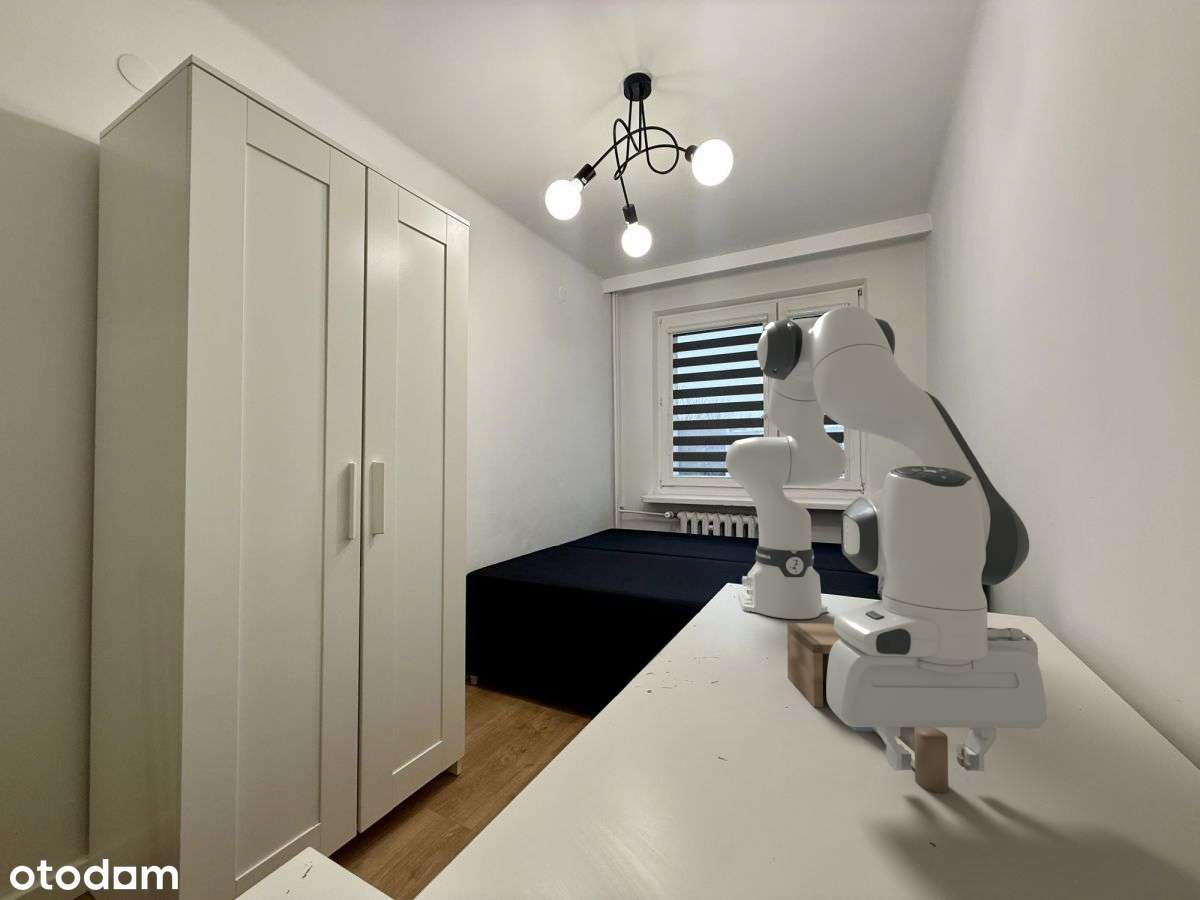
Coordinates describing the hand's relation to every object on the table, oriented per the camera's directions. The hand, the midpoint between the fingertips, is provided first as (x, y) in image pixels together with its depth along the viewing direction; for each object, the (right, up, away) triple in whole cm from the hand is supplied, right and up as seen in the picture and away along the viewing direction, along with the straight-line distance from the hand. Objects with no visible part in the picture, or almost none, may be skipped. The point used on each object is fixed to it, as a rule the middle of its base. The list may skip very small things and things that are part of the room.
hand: (934, 767), depth 49 cm
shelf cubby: (0, -3, +20) cm, 21 cm away
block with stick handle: (0, -2, +7) cm, 8 cm away
